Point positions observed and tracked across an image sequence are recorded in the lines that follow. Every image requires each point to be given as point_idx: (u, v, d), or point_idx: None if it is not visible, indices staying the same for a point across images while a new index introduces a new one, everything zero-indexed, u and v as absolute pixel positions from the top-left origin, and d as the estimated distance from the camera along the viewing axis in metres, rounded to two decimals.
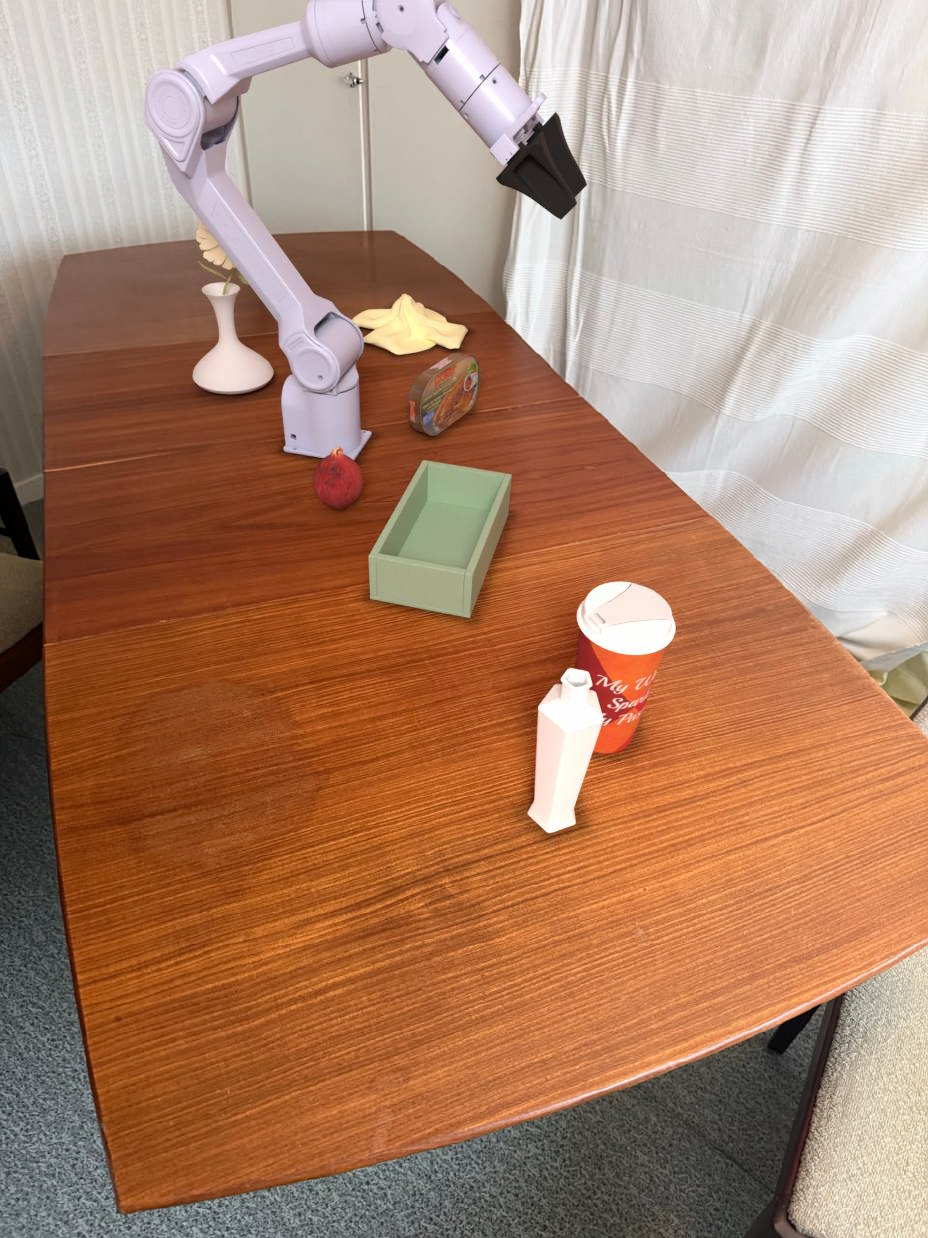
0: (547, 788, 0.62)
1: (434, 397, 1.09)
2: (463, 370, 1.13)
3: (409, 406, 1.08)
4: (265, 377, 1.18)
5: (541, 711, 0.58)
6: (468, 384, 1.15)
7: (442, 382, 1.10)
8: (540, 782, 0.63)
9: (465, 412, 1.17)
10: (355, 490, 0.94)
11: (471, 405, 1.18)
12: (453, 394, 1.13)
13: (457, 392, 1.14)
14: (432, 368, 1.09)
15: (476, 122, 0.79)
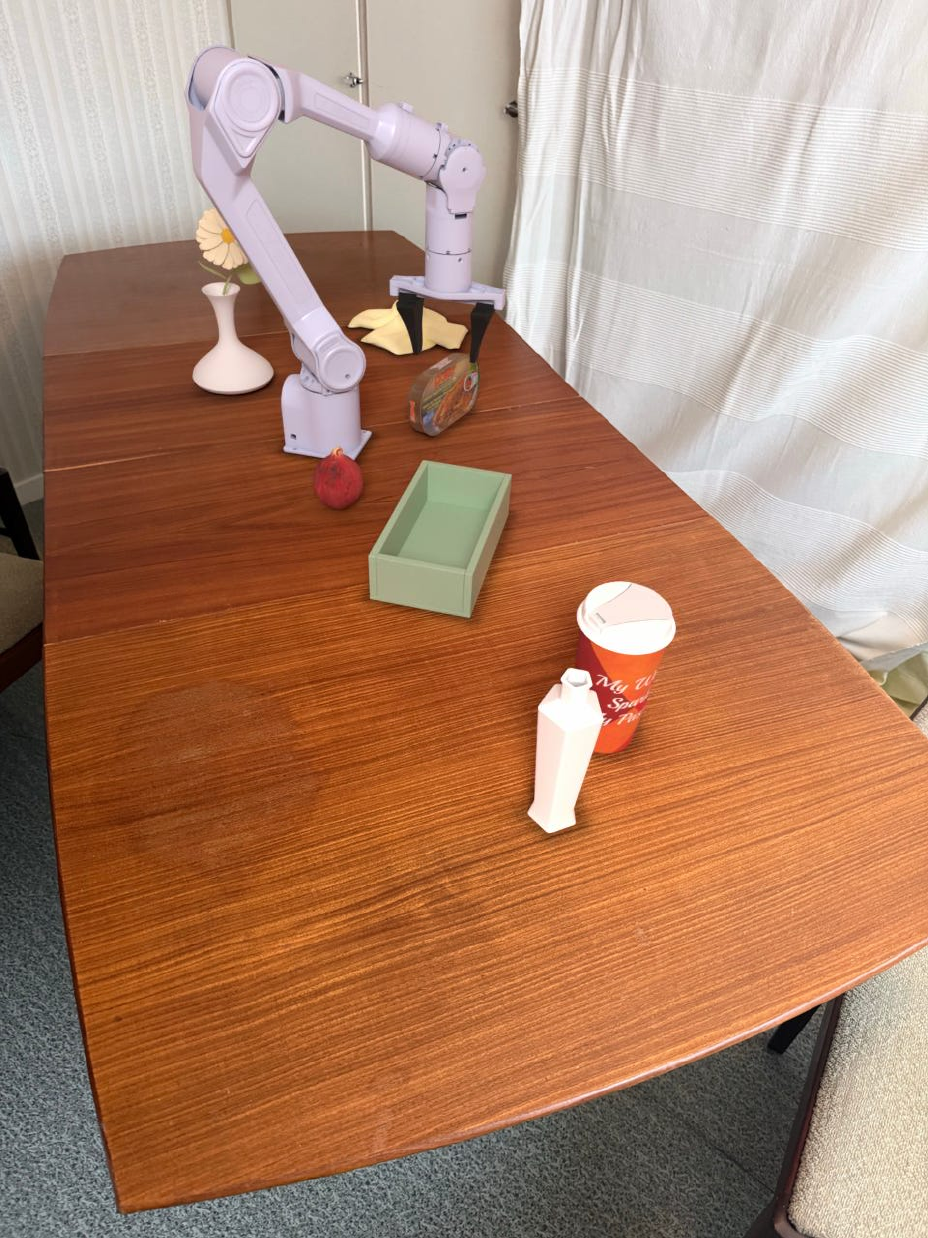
0: (547, 788, 0.62)
1: (434, 397, 1.09)
2: (463, 370, 1.13)
3: (409, 406, 1.08)
4: (265, 377, 1.18)
5: (541, 711, 0.58)
6: (468, 384, 1.15)
7: (442, 382, 1.10)
8: (540, 782, 0.63)
9: (465, 412, 1.17)
10: (355, 490, 0.94)
11: (471, 405, 1.18)
12: (453, 394, 1.13)
13: (457, 392, 1.14)
14: (432, 368, 1.09)
15: (463, 269, 1.00)
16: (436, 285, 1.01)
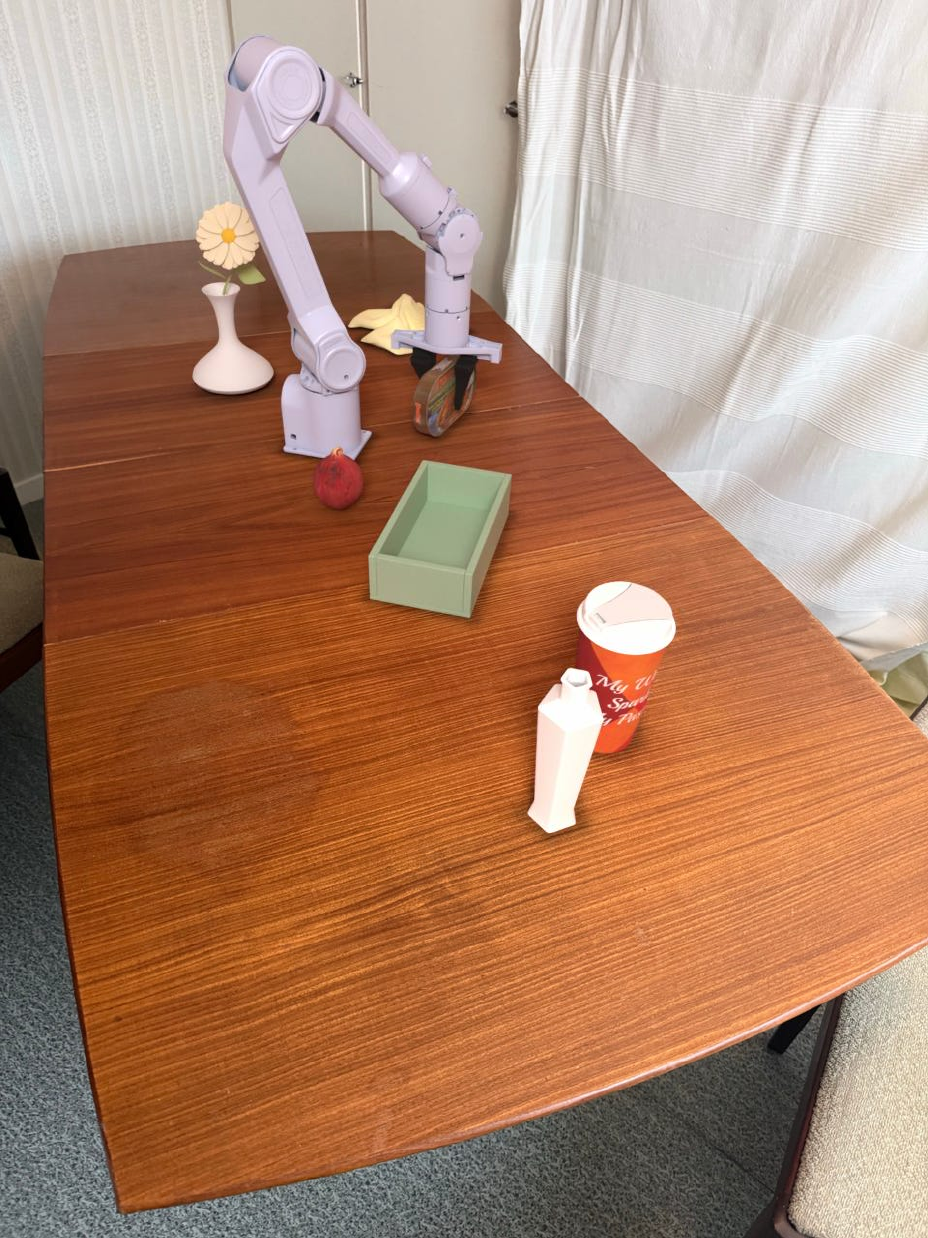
0: (547, 788, 0.62)
1: (438, 398, 1.09)
2: None
3: (414, 408, 1.07)
4: (265, 377, 1.18)
5: (541, 711, 0.58)
6: None
7: (445, 382, 1.09)
8: (540, 782, 0.63)
9: (463, 411, 1.17)
10: (355, 490, 0.94)
11: (468, 404, 1.18)
12: (453, 394, 1.13)
13: None
14: (434, 369, 1.09)
15: (461, 326, 1.04)
16: (435, 341, 1.05)
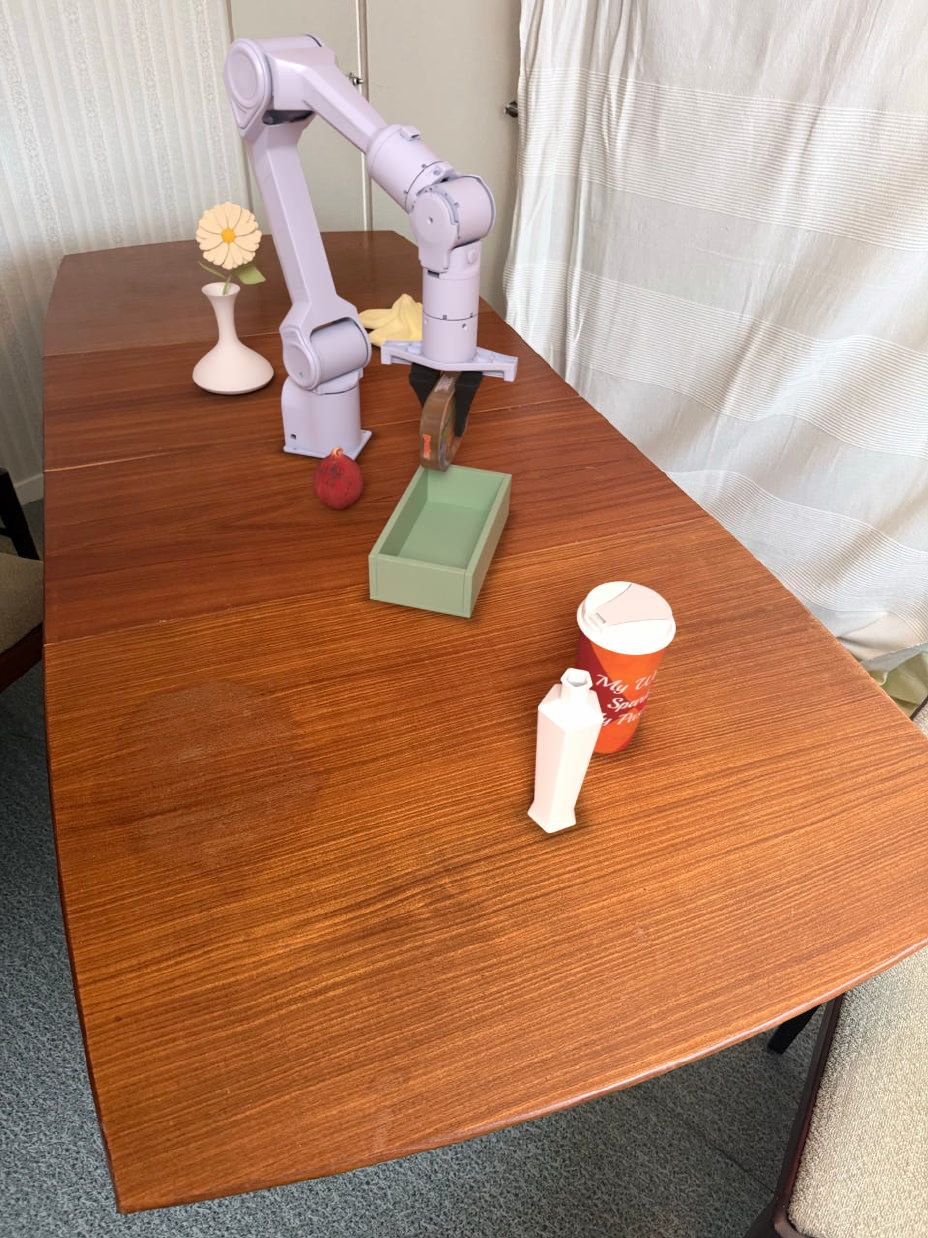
0: (547, 788, 0.62)
1: (445, 426, 0.89)
2: None
3: (422, 441, 0.87)
4: (265, 377, 1.18)
5: (541, 711, 0.58)
6: None
7: (450, 405, 0.89)
8: (540, 782, 0.63)
9: (462, 435, 0.97)
10: (355, 490, 0.94)
11: (465, 427, 0.98)
12: (455, 418, 0.93)
13: None
14: (437, 390, 0.88)
15: (467, 336, 0.84)
16: (436, 355, 0.85)
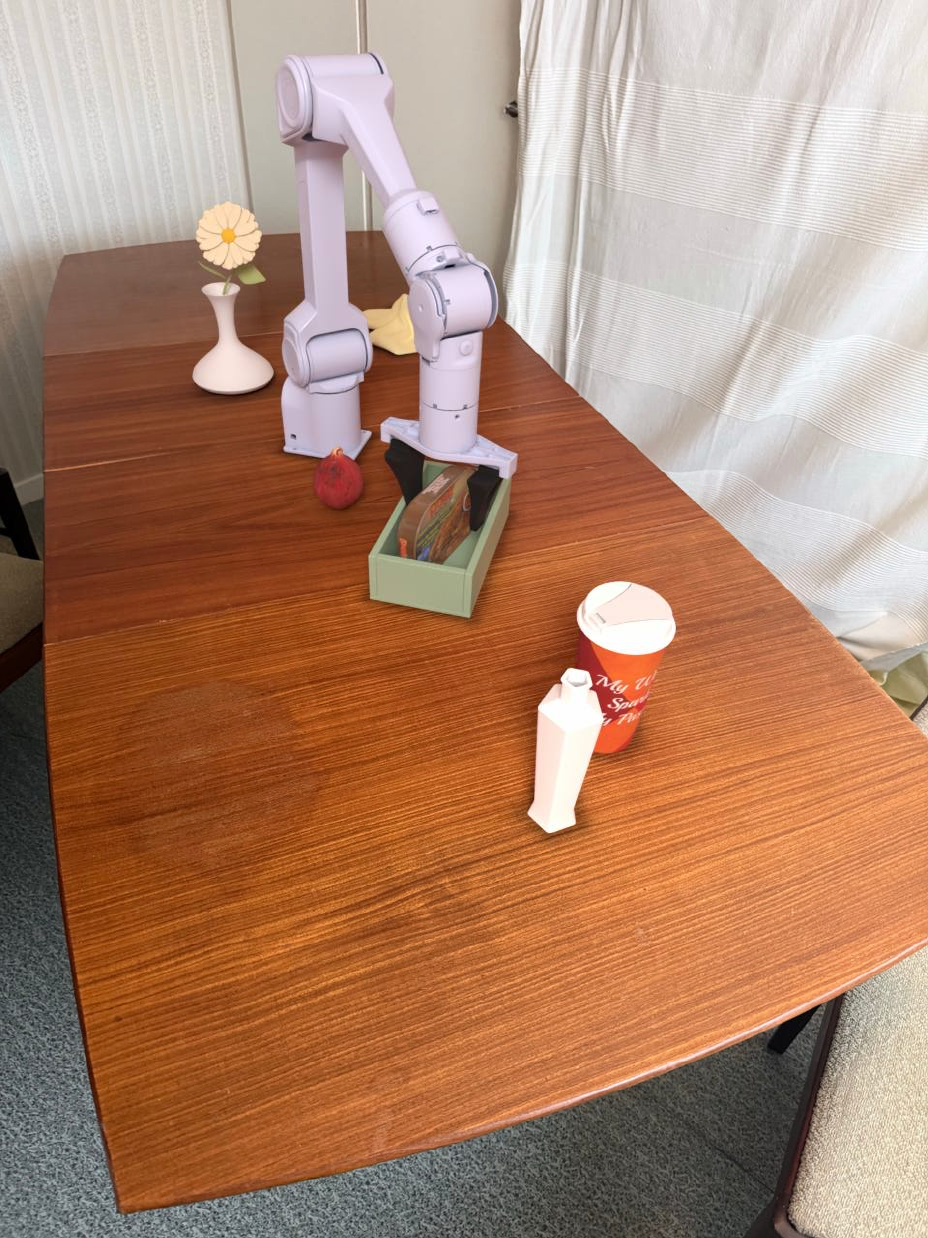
0: (547, 788, 0.62)
1: (430, 529, 0.85)
2: (462, 488, 0.89)
3: (399, 545, 0.84)
4: (265, 377, 1.18)
5: (541, 711, 0.58)
6: (468, 502, 0.92)
7: (439, 508, 0.86)
8: (540, 782, 0.63)
9: (465, 535, 0.93)
10: (355, 490, 0.94)
11: None
12: (451, 519, 0.89)
13: (455, 515, 0.90)
14: (425, 492, 0.85)
15: (461, 427, 0.79)
16: (428, 442, 0.80)
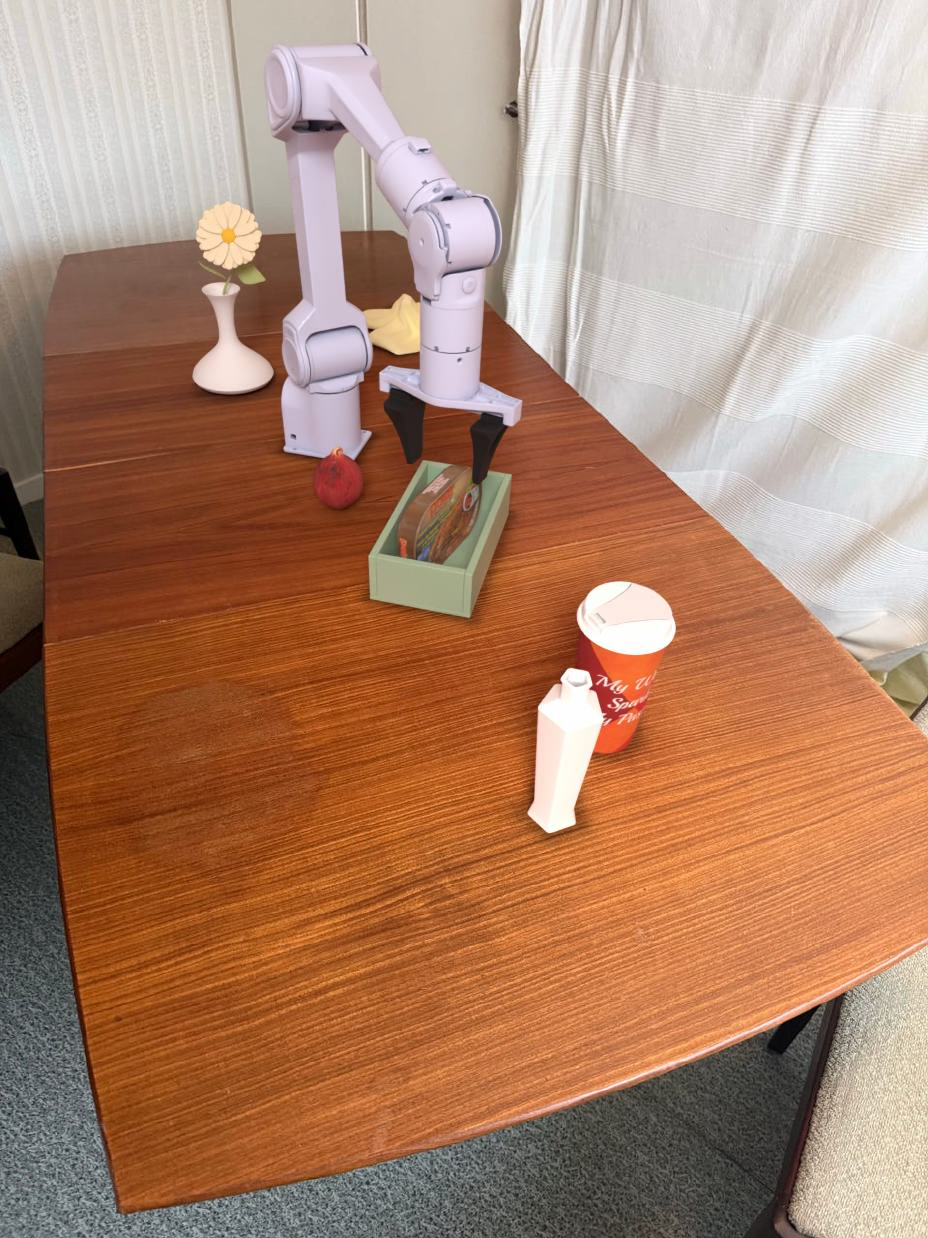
0: (547, 788, 0.62)
1: (430, 529, 0.85)
2: (462, 488, 0.89)
3: (399, 545, 0.84)
4: (265, 377, 1.18)
5: (541, 711, 0.58)
6: (468, 502, 0.92)
7: (439, 508, 0.86)
8: (540, 782, 0.63)
9: (465, 535, 0.93)
10: (355, 490, 0.94)
11: (472, 525, 0.94)
12: (451, 519, 0.89)
13: (455, 515, 0.90)
14: (425, 492, 0.85)
15: (464, 371, 0.76)
16: (429, 388, 0.77)
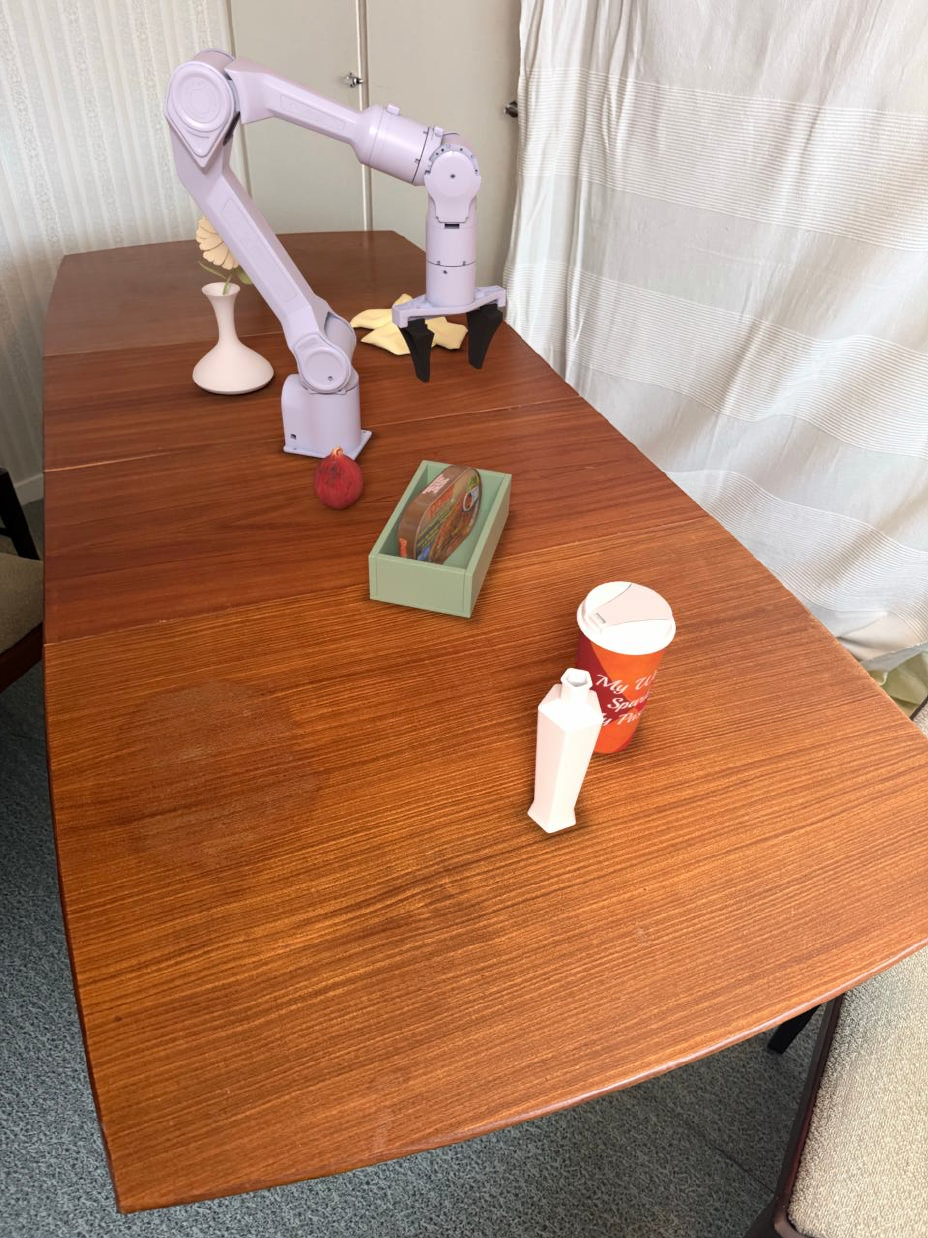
0: (547, 788, 0.62)
1: (430, 529, 0.85)
2: (462, 488, 0.89)
3: (399, 545, 0.84)
4: (265, 377, 1.18)
5: (541, 711, 0.58)
6: (468, 502, 0.92)
7: (439, 508, 0.86)
8: (540, 782, 0.63)
9: (465, 535, 0.93)
10: (355, 490, 0.94)
11: (472, 525, 0.94)
12: (451, 519, 0.89)
13: (455, 515, 0.90)
14: (425, 492, 0.85)
15: None
16: (457, 300, 0.94)
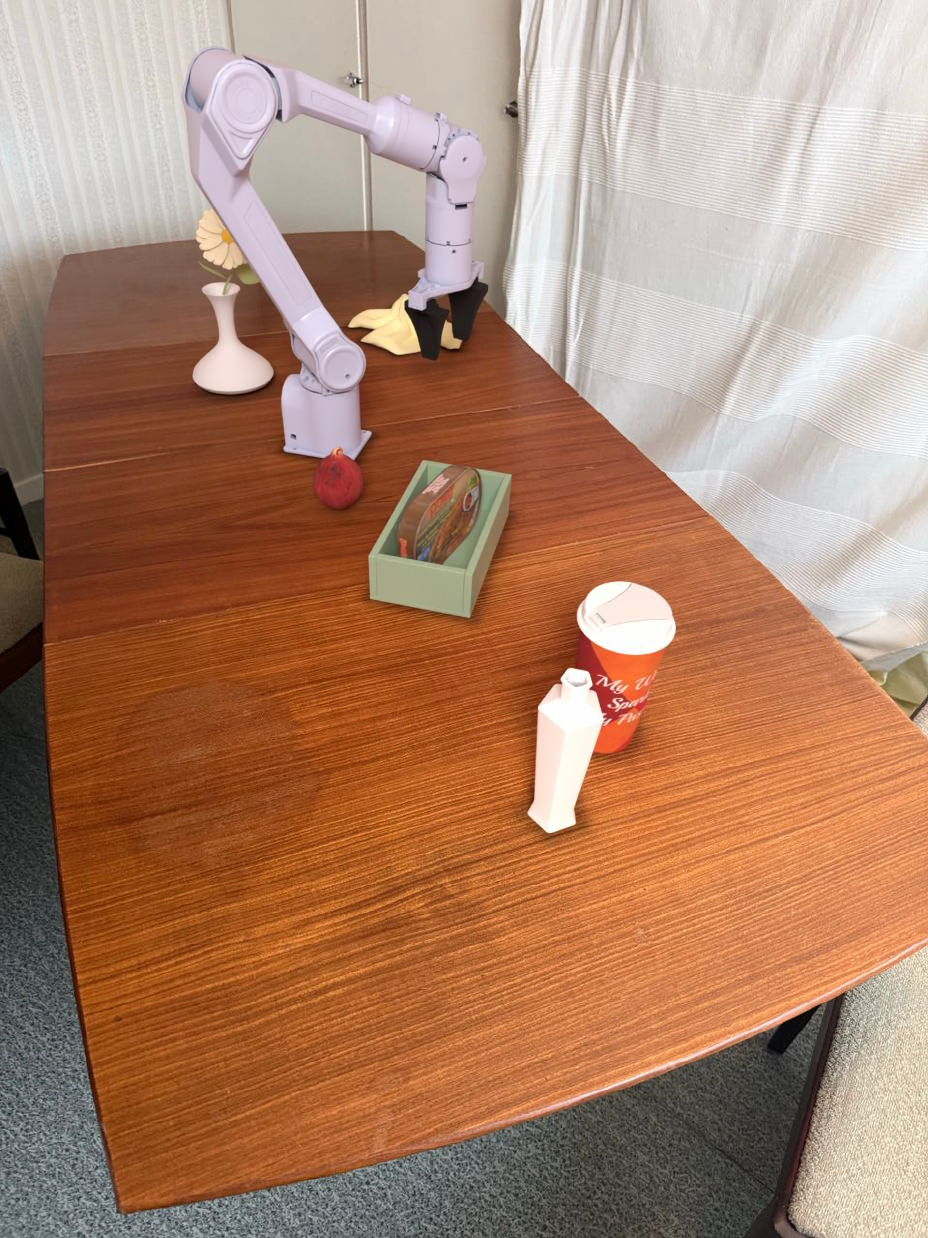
0: (547, 788, 0.62)
1: (430, 529, 0.85)
2: (462, 488, 0.89)
3: (399, 545, 0.84)
4: (265, 377, 1.18)
5: (541, 711, 0.58)
6: (468, 502, 0.92)
7: (439, 508, 0.86)
8: (540, 782, 0.63)
9: (465, 535, 0.93)
10: (355, 490, 0.94)
11: (472, 525, 0.94)
12: (451, 519, 0.89)
13: (455, 515, 0.90)
14: (425, 492, 0.85)
15: None
16: (464, 276, 1.01)
